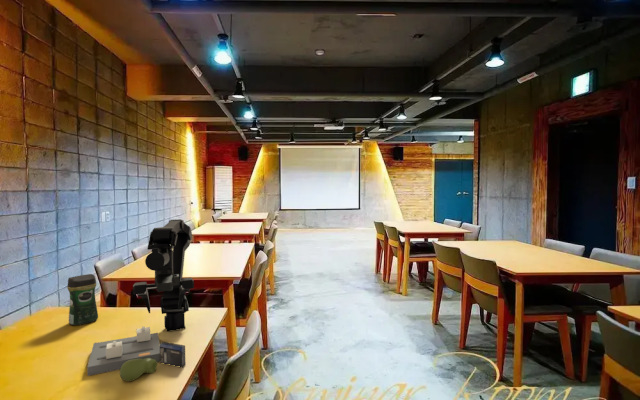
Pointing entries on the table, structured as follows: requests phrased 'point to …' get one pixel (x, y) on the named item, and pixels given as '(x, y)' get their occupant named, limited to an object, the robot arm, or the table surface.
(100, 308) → the table surface
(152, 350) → the switch panel
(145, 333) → the tab
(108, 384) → the table surface
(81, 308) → the coffee jar
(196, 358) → the table surface
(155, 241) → the robot arm
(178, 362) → the mini dv tape
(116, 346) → the tab
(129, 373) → the pear
